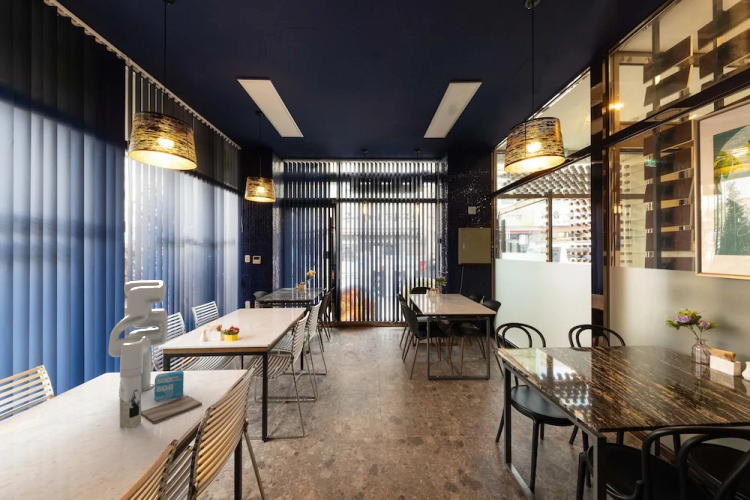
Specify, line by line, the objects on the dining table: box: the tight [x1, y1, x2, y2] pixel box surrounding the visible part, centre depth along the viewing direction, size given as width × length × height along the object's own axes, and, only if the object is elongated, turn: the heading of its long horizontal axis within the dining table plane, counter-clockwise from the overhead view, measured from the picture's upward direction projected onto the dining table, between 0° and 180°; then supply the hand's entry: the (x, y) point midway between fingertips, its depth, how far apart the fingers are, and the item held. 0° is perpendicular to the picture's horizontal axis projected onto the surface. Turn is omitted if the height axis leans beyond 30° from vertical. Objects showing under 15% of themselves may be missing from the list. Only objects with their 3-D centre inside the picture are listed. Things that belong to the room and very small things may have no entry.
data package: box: [153, 370, 185, 402], centre depth 153 cm, size 12×4×12 cm, turn 122°
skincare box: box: [119, 396, 142, 429], centre depth 128 cm, size 6×4×12 cm
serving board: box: [141, 395, 203, 425], centre depth 141 cm, size 14×20×1 cm
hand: (130, 413), depth 128 cm, fingers closed on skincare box, 7 cm apart
